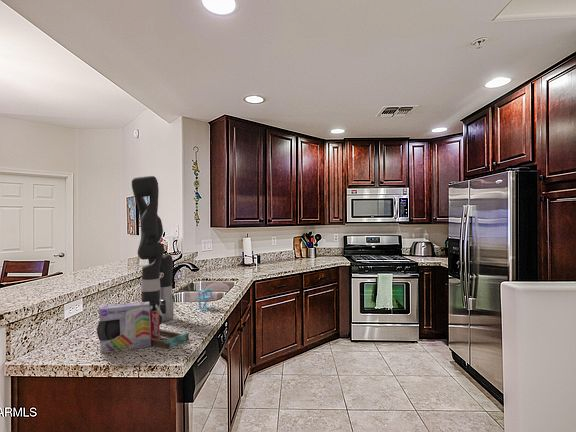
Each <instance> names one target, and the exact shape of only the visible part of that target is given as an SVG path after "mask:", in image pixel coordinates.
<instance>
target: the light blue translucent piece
mask: <svg viewBox="0 0 576 432" xmlns="http://www.w3.org/2000/svg"><path fill="white" fill-rule="evenodd" d="M201 293H202V296H201ZM208 293H210V294H209V295H208ZM197 294H198V296H196V298H197V301H198V309H199V308H200V309H201V310H202V311H205V312H207V311H206V310H210V309H214V308H215V307H214V306H206V305H207V302H208V301H209V300H210V299H211V300H212V299H214V297H213V296H212V294H213V290H212V289H211V288H206V289H199V290H197ZM201 301H205V302H204V304H203V305H202V303H201ZM203 307H205V308H203ZM207 308H210V309H207ZM200 309H199V310H200ZM201 310H200V311H201ZM214 310H215V309H214ZM202 311H201V312H202ZM210 311H211V310H210Z"/></svg>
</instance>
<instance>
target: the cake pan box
mask: <svg viewBox="0 0 576 432" xmlns="http://www.w3.org/2000/svg"><path fill="white" fill-rule="evenodd" d="M98 313H99V314H98V315H99V316H98V317H99V321H98V323H97V327H96V334H97V338H98V340H99V344H100V345H99V347H100V348H99V349H100V353H109V352H110V353H111V352H117V351H119V352H120V351H127V350H133V349H134V350H135V349H140V348H141V349H142V348H146V347H147V348H148V347H151V346H152V345H151V321H150V302H142V301H141V302H139V301H138V302H127V303H117V304H109V305H107V304H106V305H101V306H100V308H99V311H98Z"/></svg>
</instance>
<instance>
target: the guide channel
mask: <svg viewBox="0 0 576 432" xmlns="http://www.w3.org/2000/svg"><path fill="white" fill-rule="evenodd" d="M160 336H161V337H166V338H168V339H165V340H162V339H157V338H156V339H153V338H151V346H154V347H159V348H163V349H165V350H166V349H170V347H171V348H172V347H175V346H178V345H180V344H183V343H185V342H187V340H188V341H189V340H190V333H189V332H187V331H186V332H183V333H179V332H175V331H171V330H166V329H160ZM184 341H185V342H184ZM182 342H183V343H182ZM177 344H178V345H177Z"/></svg>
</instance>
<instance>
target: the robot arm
mask: <svg viewBox="0 0 576 432" xmlns="http://www.w3.org/2000/svg"><path fill="white" fill-rule="evenodd" d="M131 188H132V194H133V196H134V199H135V202H136V206H137V210H138V215H139V220H140V241H139V245H138V248H137V256H138V258H139V259H140V260H147V261H148V264H146V265H145V264H144V265H143V266H142V268H141V270H142V271H141V295H140V296H141V302H150V312H152V311H156V310H158V311H159V313H160V325H162V323H163V322H169V321H171V320H172V319H174V299H173V287H172V286H173V285H172V284H173V268H174V266H173V265H174V259H173V256H172V255H171V254H165V248H164V245H163V244H162V243H161V242H160V241H161V239H162V237H163V235H164V227H163V222H162V218H160V216H159V215H158V210H159V209H158V208H159V194H160V193H159V192H160V191H159V182H158V179H157V178H156V176H153V175H152V176H151V175H149V176H140V177H133V178H132V179H131ZM145 197H150V201H149V202H148V204H147V202H146V201H145ZM161 273H163V274H162V277H161V276H160V275H161Z"/></svg>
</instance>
